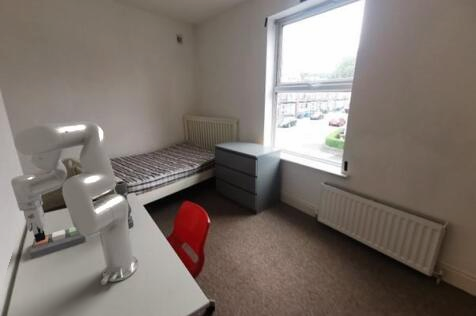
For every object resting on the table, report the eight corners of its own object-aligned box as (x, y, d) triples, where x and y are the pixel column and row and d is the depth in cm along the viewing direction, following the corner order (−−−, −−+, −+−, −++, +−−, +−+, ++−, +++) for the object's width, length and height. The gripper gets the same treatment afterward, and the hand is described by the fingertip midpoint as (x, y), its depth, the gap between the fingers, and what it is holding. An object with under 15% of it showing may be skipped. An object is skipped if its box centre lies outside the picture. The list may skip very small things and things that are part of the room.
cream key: (66, 235, 104) (64, 229, 103) (65, 240, 100) (64, 233, 99) (54, 239, 101) (52, 232, 100) (53, 243, 98) (51, 237, 97)
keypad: (84, 229, 111) (83, 224, 110) (85, 241, 102) (84, 236, 101) (35, 244, 100) (34, 238, 100) (31, 258, 91) (30, 253, 90)
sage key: (81, 231, 107) (80, 225, 106) (82, 235, 104) (80, 229, 103) (70, 234, 105) (69, 228, 104) (70, 238, 101) (69, 232, 100)
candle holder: (136, 225, 115) (129, 182, 109) (125, 231, 110) (117, 186, 103) (129, 222, 118) (122, 179, 112) (118, 227, 113) (110, 183, 106)
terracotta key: (49, 242, 100) (48, 235, 99) (49, 247, 97) (47, 240, 96) (37, 246, 98) (35, 239, 97) (36, 251, 94) (34, 244, 94)
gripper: (40, 207, 88) (50, 245, 93) (43, 195, 100) (52, 229, 104) (14, 213, 84) (27, 252, 89) (21, 199, 95) (32, 235, 100)
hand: (41, 240), depth 97 cm, fingers closed
